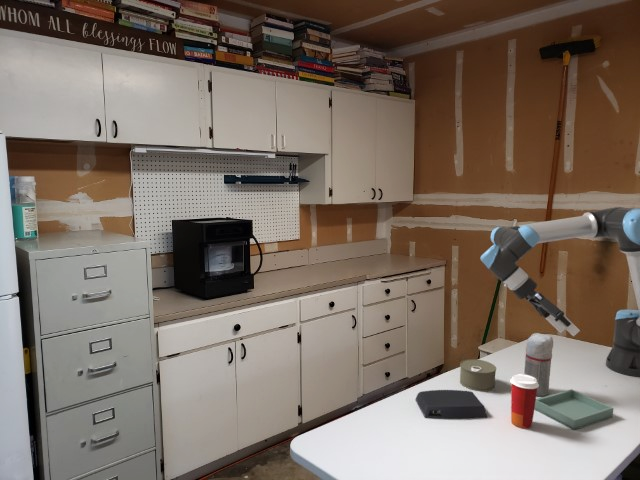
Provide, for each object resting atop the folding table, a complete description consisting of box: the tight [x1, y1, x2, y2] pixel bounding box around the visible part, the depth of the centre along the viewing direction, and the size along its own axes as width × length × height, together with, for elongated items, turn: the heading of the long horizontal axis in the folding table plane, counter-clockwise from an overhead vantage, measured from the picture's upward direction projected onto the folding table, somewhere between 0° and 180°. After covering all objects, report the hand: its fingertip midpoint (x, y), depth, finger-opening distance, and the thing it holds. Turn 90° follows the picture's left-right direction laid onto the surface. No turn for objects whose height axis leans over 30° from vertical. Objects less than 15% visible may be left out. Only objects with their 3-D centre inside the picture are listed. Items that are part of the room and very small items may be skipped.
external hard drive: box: [414, 389, 488, 420], centre depth 148 cm, size 13×19×4 cm
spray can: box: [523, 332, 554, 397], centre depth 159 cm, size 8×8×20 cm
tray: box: [534, 388, 614, 431], centre depth 146 cm, size 18×14×3 cm
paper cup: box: [509, 373, 539, 430], centre depth 139 cm, size 8×8×14 cm
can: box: [459, 358, 497, 392], centre depth 166 cm, size 12×12×7 cm
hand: (569, 331), depth 154 cm, fingers open, 13 cm apart
